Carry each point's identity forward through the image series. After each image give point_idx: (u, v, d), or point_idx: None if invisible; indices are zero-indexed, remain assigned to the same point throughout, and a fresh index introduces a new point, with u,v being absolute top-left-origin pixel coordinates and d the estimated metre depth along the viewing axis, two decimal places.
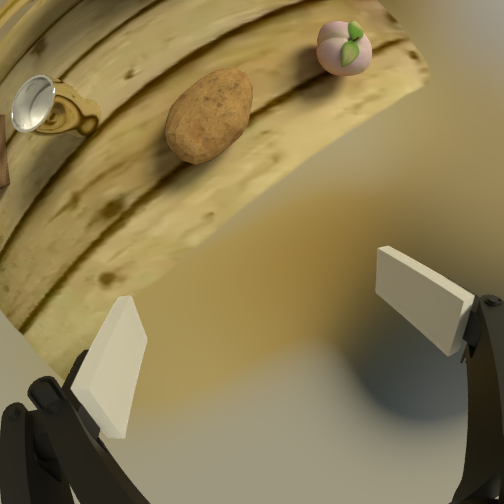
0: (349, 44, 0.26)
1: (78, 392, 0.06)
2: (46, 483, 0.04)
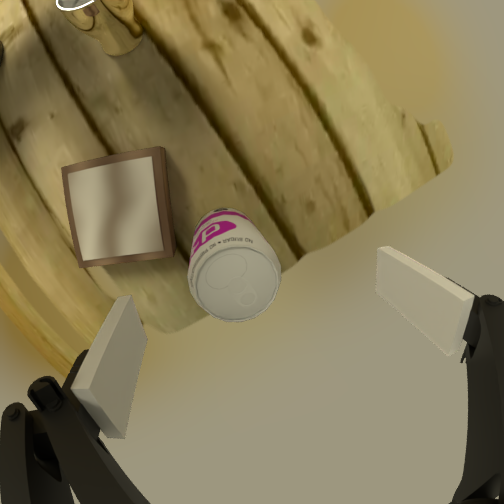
0: None
1: (78, 392, 0.06)
2: (46, 483, 0.04)
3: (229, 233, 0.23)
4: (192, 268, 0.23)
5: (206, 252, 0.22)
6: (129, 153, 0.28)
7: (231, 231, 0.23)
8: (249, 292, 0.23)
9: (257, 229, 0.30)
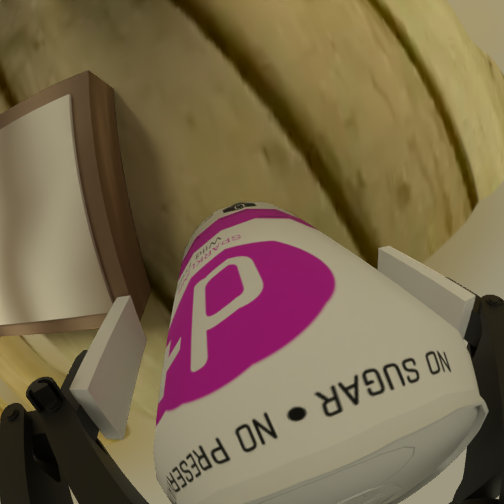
0: None
1: (76, 393, 0.06)
2: (45, 483, 0.04)
3: (348, 344, 0.03)
4: (166, 481, 0.04)
5: (221, 465, 0.03)
6: (30, 100, 0.09)
7: (343, 317, 0.04)
8: (385, 494, 0.04)
9: None
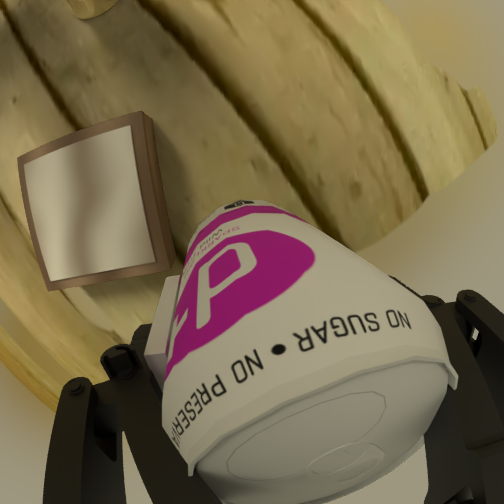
0: None
1: (152, 358, 0.08)
2: (101, 463, 0.05)
3: (319, 298, 0.05)
4: (171, 428, 0.05)
5: (220, 397, 0.04)
6: (99, 125, 0.18)
7: (317, 281, 0.05)
8: (368, 458, 0.05)
9: None
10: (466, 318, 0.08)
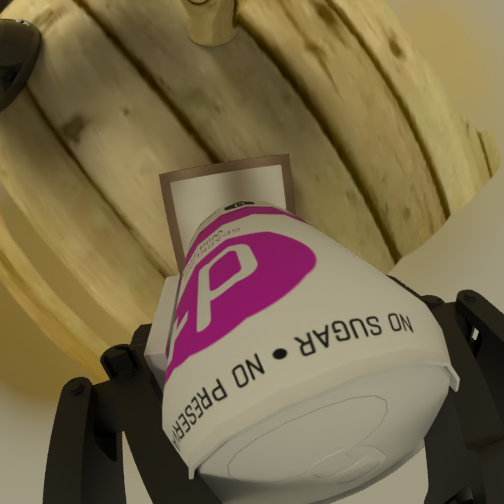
0: None
1: (152, 358, 0.08)
2: (101, 463, 0.05)
3: (320, 302, 0.05)
4: (172, 432, 0.05)
5: (220, 402, 0.04)
6: (253, 160, 0.26)
7: (319, 284, 0.05)
8: (369, 461, 0.05)
9: None
10: (466, 318, 0.08)
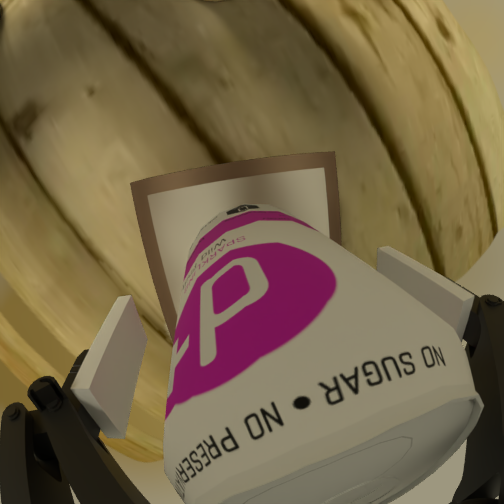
0: None
1: (78, 392, 0.06)
2: (46, 483, 0.04)
3: (348, 338, 0.04)
4: (175, 472, 0.04)
5: (231, 453, 0.03)
6: (282, 159, 0.16)
7: (344, 314, 0.04)
8: (384, 488, 0.04)
9: None
10: None
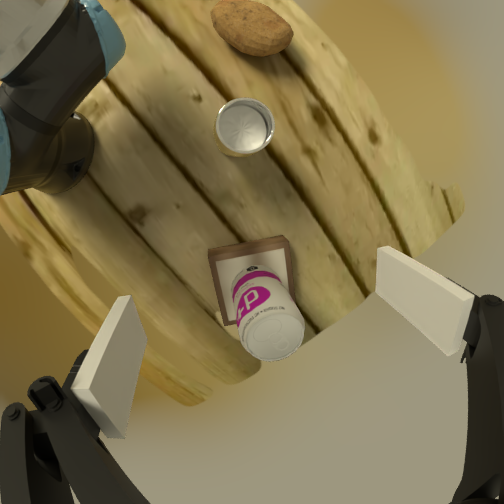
0: None
1: (78, 392, 0.06)
2: (46, 483, 0.04)
3: (267, 304, 0.31)
4: (243, 329, 0.32)
5: (252, 319, 0.31)
6: (266, 246, 0.44)
7: (268, 301, 0.32)
8: (284, 341, 0.32)
9: (283, 286, 0.39)
10: None
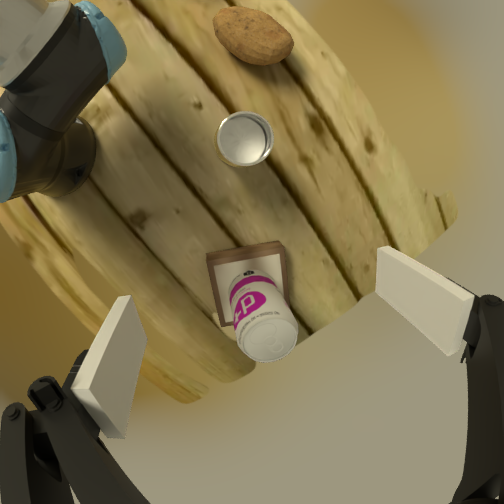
0: None
1: (78, 392, 0.06)
2: (46, 483, 0.04)
3: (263, 309, 0.33)
4: (239, 332, 0.33)
5: (249, 323, 0.33)
6: (263, 252, 0.46)
7: (264, 306, 0.34)
8: (278, 344, 0.34)
9: (278, 291, 0.41)
10: None
